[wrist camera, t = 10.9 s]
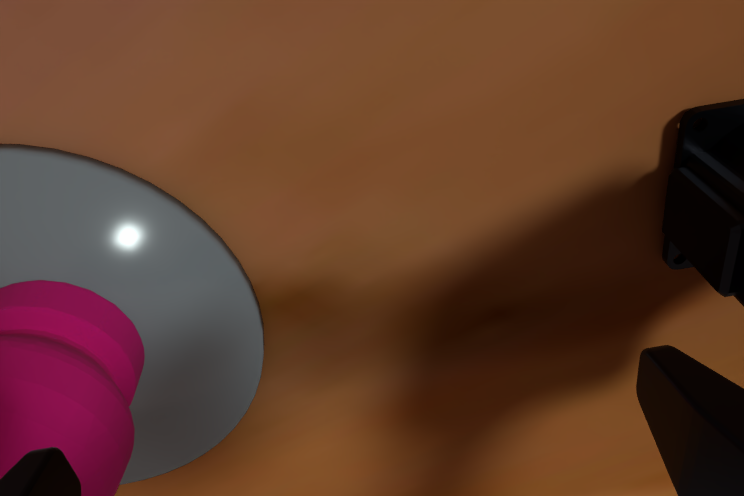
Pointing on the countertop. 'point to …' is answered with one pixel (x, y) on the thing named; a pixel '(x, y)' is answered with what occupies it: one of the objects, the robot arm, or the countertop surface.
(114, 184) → the disc
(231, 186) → the countertop surface
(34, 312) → the pepper mill
